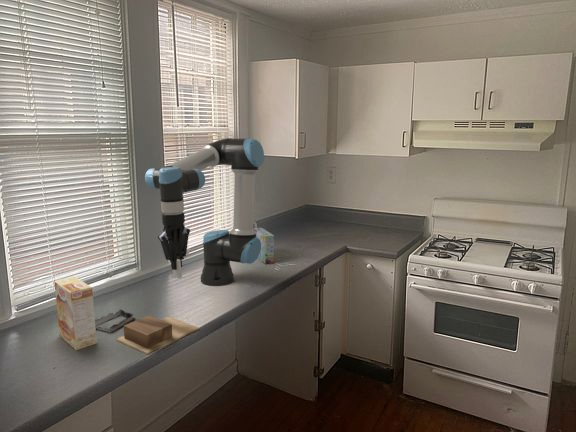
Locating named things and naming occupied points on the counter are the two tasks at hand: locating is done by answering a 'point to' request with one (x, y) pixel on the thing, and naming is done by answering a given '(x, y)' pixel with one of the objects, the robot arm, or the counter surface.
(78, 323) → the coffeecake box
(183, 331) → the light wood board
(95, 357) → the counter surface
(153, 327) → the walnut slab
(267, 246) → the snack box
